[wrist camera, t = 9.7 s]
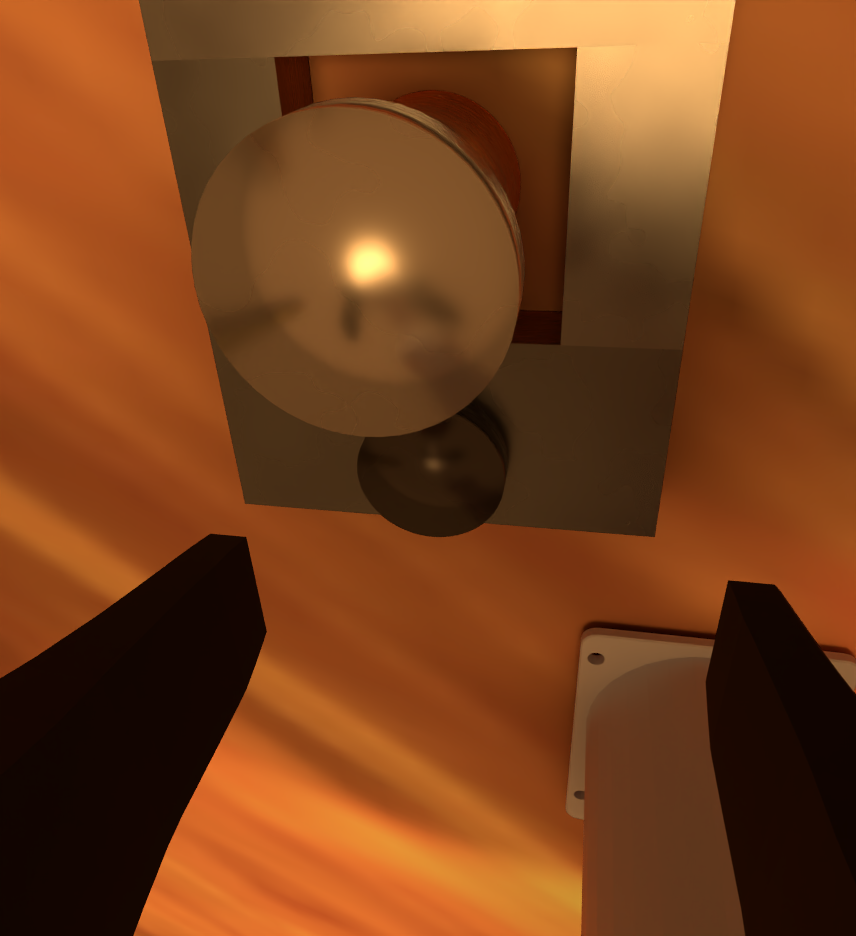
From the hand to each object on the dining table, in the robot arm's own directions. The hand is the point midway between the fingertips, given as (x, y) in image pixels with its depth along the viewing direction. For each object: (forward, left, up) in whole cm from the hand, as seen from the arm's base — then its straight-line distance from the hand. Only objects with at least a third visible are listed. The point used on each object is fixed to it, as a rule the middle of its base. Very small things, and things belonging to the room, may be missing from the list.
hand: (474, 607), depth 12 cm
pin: (+4, +2, -9) cm, 10 cm away
